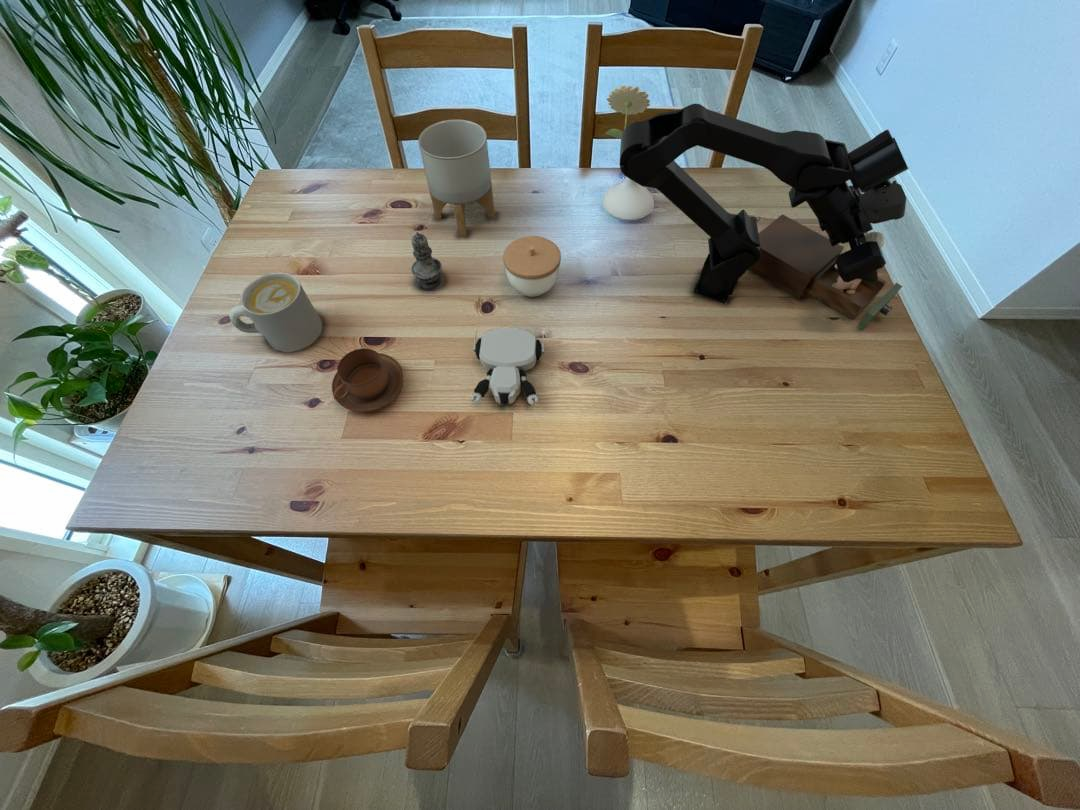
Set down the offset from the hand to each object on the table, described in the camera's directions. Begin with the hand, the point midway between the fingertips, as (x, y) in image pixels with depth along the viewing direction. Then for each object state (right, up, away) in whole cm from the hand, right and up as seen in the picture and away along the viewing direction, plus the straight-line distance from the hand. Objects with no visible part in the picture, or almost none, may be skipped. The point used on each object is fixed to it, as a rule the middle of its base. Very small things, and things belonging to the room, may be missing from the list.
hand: (868, 261), depth 90 cm
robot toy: (-64, -20, -1) cm, 67 cm away
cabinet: (-9, +2, +12) cm, 15 cm away
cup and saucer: (-88, -22, -2) cm, 90 cm away
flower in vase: (-40, +18, +23) cm, 49 cm away
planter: (-75, +16, +22) cm, 79 cm away
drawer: (0, -5, +6) cm, 8 cm away
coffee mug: (-106, -12, +5) cm, 107 cm away
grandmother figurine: (-1, -4, +6) cm, 7 cm away
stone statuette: (-80, -1, +12) cm, 81 cm away
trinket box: (-60, -2, +11) cm, 60 cm away
